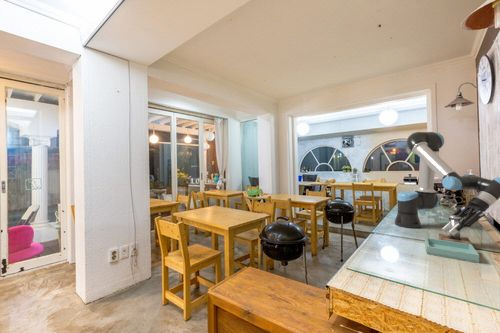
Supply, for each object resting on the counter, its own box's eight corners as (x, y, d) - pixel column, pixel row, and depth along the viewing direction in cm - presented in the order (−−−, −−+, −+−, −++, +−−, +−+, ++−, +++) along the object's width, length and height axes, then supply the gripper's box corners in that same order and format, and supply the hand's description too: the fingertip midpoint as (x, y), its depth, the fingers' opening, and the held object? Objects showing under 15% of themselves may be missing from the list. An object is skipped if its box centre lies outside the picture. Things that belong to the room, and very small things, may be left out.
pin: (448, 240, 122) (449, 216, 121) (447, 237, 126) (447, 214, 126) (463, 242, 119) (463, 218, 118) (461, 239, 123) (461, 215, 123)
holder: (441, 244, 121) (441, 239, 121) (438, 238, 131) (438, 233, 131) (472, 249, 114) (472, 243, 114) (467, 242, 124) (467, 237, 124)
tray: (426, 254, 110) (427, 246, 110) (425, 244, 123) (425, 237, 123) (479, 263, 99) (479, 255, 99) (471, 251, 113) (471, 244, 112)
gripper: (503, 210, 112) (466, 243, 114) (472, 203, 129) (440, 232, 131) (491, 199, 112) (455, 232, 114) (462, 194, 129) (431, 222, 131)
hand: (447, 232), depth 123 cm, fingers closed on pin, 4 cm apart
